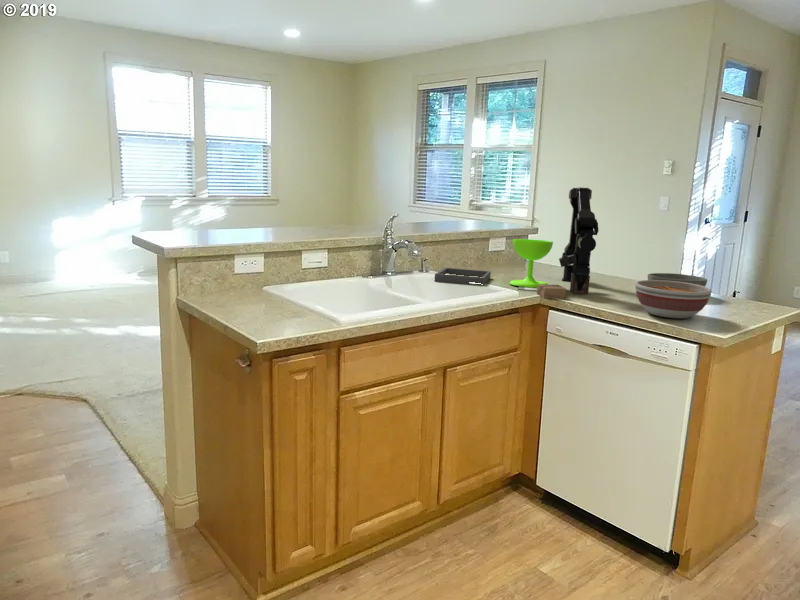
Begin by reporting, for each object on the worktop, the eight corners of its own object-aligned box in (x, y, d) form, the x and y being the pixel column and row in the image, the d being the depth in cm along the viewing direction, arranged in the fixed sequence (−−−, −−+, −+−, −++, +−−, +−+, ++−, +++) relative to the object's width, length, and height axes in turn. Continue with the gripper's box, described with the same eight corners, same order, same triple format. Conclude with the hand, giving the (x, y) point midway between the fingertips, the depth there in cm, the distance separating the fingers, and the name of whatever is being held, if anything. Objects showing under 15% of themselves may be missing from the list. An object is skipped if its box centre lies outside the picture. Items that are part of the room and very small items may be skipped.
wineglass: (504, 281, 254) (508, 238, 251) (541, 282, 256) (545, 240, 253) (515, 286, 238) (519, 240, 235) (554, 288, 240) (559, 242, 237)
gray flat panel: (520, 285, 246) (520, 284, 246) (555, 288, 242) (555, 287, 242) (517, 289, 236) (517, 288, 236) (554, 293, 233) (554, 291, 232)
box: (585, 292, 237) (587, 273, 236) (588, 295, 232) (590, 276, 230) (569, 291, 238) (571, 272, 237) (572, 294, 232) (574, 275, 231)
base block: (536, 294, 230) (537, 284, 229) (557, 295, 231) (558, 284, 230) (543, 298, 222) (544, 288, 221) (564, 299, 223) (565, 288, 222)
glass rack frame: (445, 274, 267) (445, 267, 267) (490, 278, 262) (490, 271, 261) (434, 281, 248) (434, 274, 248) (483, 285, 243) (483, 278, 242)
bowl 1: (645, 297, 232) (647, 276, 230) (645, 289, 251) (647, 269, 249) (706, 303, 224) (709, 282, 222) (702, 294, 243) (705, 274, 241)
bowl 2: (671, 325, 186) (675, 293, 184) (617, 309, 206) (620, 280, 204) (723, 321, 195) (728, 290, 193) (667, 306, 215) (670, 278, 213)
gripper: (562, 245, 242) (558, 283, 246) (560, 250, 225) (556, 291, 228) (591, 247, 239) (587, 286, 243) (591, 252, 222) (587, 294, 225)
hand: (579, 289), depth 235 cm, fingers closed on box, 6 cm apart
